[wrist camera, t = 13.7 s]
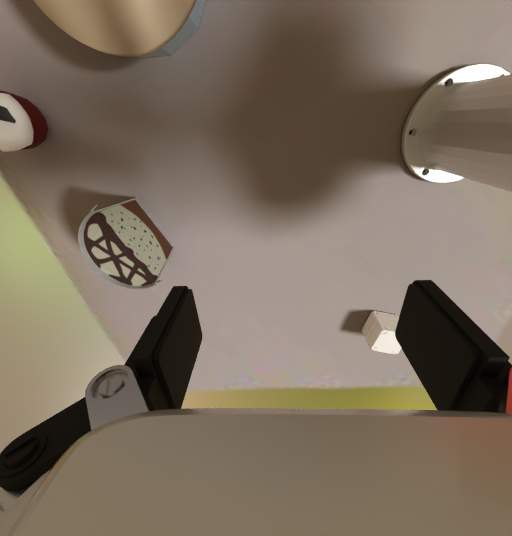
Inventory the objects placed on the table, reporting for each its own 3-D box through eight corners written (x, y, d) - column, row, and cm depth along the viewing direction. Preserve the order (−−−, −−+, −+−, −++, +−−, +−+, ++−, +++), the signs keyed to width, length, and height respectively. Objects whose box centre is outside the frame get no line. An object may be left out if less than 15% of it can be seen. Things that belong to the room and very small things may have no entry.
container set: (360, 328, 49) (370, 350, 44) (371, 308, 47) (383, 329, 42) (456, 346, 50) (475, 370, 46) (472, 327, 48) (494, 350, 43)
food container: (99, 208, 39) (51, 233, 30) (128, 188, 37) (86, 209, 29) (152, 269, 44) (124, 305, 36) (180, 254, 42) (157, 288, 34)
